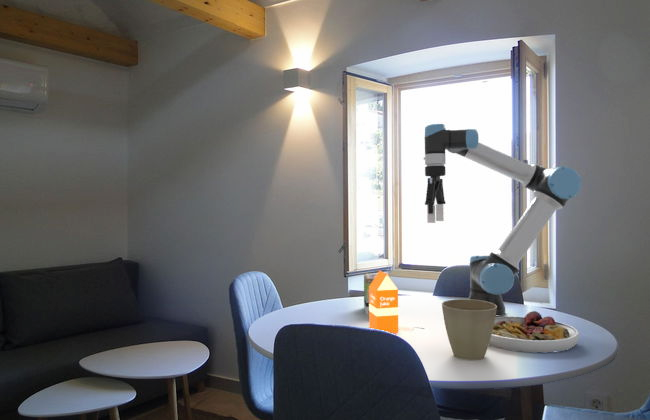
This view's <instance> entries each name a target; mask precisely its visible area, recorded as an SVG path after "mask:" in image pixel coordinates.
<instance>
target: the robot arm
mask: <svg viewBox="0 0 650 420" xmlns="http://www.w3.org/2000/svg"><path fill="white" fill-rule="evenodd" d="M446 151H448V152H449V153H451V154H456V155H458V156H461V157H462V158H463V157H464V158H466V159H468V160H470V161H472V162H474V163H477V164H480V165H481V166H484V167H486V168H488V169H491V170H493V171H494V172H496V173H499V174H501V175H503V176H506V177H507V178H510V179H513V180H515V181H516V182H518V183H520V184H521V185H522V187H523V188H525V189H528V190H530V191H531V192H533V196H534V199H532V201H531V203H530V204H529V205H528V207H527V208H526V210H525V211H524V212H523V214H522V215H521V216H520V218H519V220H518V221H517V222H516V223H515V225H514V227H513V228H512V230H511V231H510V233H509V234H508V235H507V236H506V238H505V239H504V241H503V243H502V244H501V246H499V248H498V250H494V251H491V252H490V254H489V255H471V257H470V259H469V275H470V276H469V282H470V283H469V286H470V287H469V288H470V290H469V291H470V292H469V296H468V299H472V300H481V301H487V302H491V303H493V304H495V305H496V306H497V310H496V315H502V314H504V313H505V314H506V307H505V303H504V301H503V297H502V294H506V293H508V292H509V291H510V290H511V289H512V287H513V286H514V283H515V276H516V275H517V274H518V272H519V271H520V267H519V263H520V261H521V260H522V259H523V258H524V256H525V255H526V253H527V252H528V251H529V249H530V247H531V246H532V245H533V243H535V240H536V239H537V238H538V236H539V235H540V234H541V232H542V231H543V229H544V228H545V226H546V224H547V223H548V221H550V219H551V218H552V216H553V214H555V212H556V211H558V210H562V209H563V208H564V207H565V206H566V204H567V202H568V201H569V200H570V199H573V198H574V197H575V196H576V195H578V194H579V193H580V190H581V189H582V179H581V176H580V174H579V173H578V172H577V171H576V170H575V169H573V168H572V167H568V166H563V165H562V166H561V165H560V166H556V167H551V168H548V167H543V166H540V165H538V164H528V163H526V162H524V161H522V160H519V159H518V158H514V157H513V156H511V155H508V154H506V153H503V152H501V151H499V150H497V149H494V148H492V147H490V146H487V145H485V144H483V143H481V142H479V131H478V130H477V129H475V128H463V129H462V128H461V129H460V128H459V129H458V128H457V129H455V128H454V129H447V128H446V126H445V124H443V123H429V124H427V125H425V127H424V157H423V160H424V165H425V167H424V175H425V177H427V188H426V195H425V201H424V205H425V206H426V207H427V209H426V210H427V215H426V216H427V219H426V220H427V221H426V222H427V223H428V224H430V223H431V224H435V223H436V222H444V220H445V219H444V205H446V201H445V193H444V184H443V178H441V177H444V176H446V166H445V165H446V163H447V162H446ZM435 202H436V204H435ZM505 314H504V315H505ZM502 316H503V315H502Z"/></svg>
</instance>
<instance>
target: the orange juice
mask: <svg viewBox="0 0 650 420" xmlns="http://www.w3.org/2000/svg"><path fill="white" fill-rule="evenodd" d="M376 274H377V275H376V277H375V278H374V280H373V282H372V283H371V285H370V286H369V315H368V316H369V319H368V320H369V322H368V324H369V328H370V329H371V328H374V329H379V330H384V331H388V332H391V333H390V334H393V333H394V334H395V333H399V329H398V327H399V289H398V287H397V286H396V284H395V283H394V282H393V280H392V279H391V277H390V276H389V275H388V273H386V272H383V271H381V270H378V272H377V273H376Z"/></svg>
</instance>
